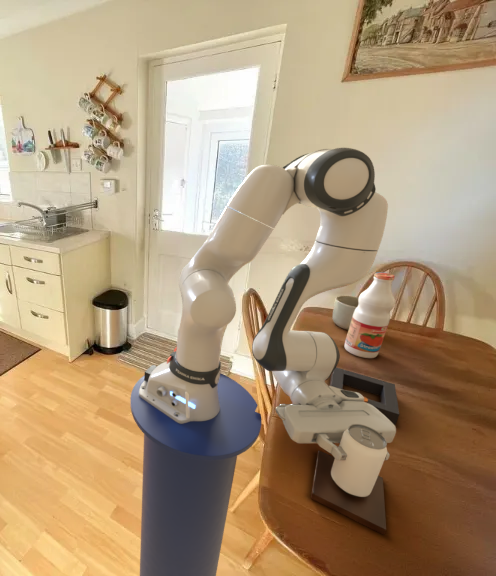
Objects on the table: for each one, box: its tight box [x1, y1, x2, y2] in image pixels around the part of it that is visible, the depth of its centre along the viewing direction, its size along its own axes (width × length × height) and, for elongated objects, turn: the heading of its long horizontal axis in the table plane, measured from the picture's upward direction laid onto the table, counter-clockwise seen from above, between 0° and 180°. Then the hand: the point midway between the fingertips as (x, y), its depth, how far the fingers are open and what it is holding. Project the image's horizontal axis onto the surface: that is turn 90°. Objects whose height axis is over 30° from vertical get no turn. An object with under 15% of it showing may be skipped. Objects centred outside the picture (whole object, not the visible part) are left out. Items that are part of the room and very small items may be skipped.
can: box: [331, 424, 388, 497], centre depth 59 cm, size 6×6×12 cm
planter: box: [332, 295, 359, 331], centre depth 122 cm, size 12×12×11 cm
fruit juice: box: [344, 271, 396, 359], centre depth 102 cm, size 9×9×28 cm
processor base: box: [329, 366, 400, 426], centre depth 85 cm, size 14×14×4 cm
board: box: [310, 450, 387, 536], centre depth 61 cm, size 11×12×2 cm
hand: (363, 458), depth 57 cm, fingers closed on can, 6 cm apart
